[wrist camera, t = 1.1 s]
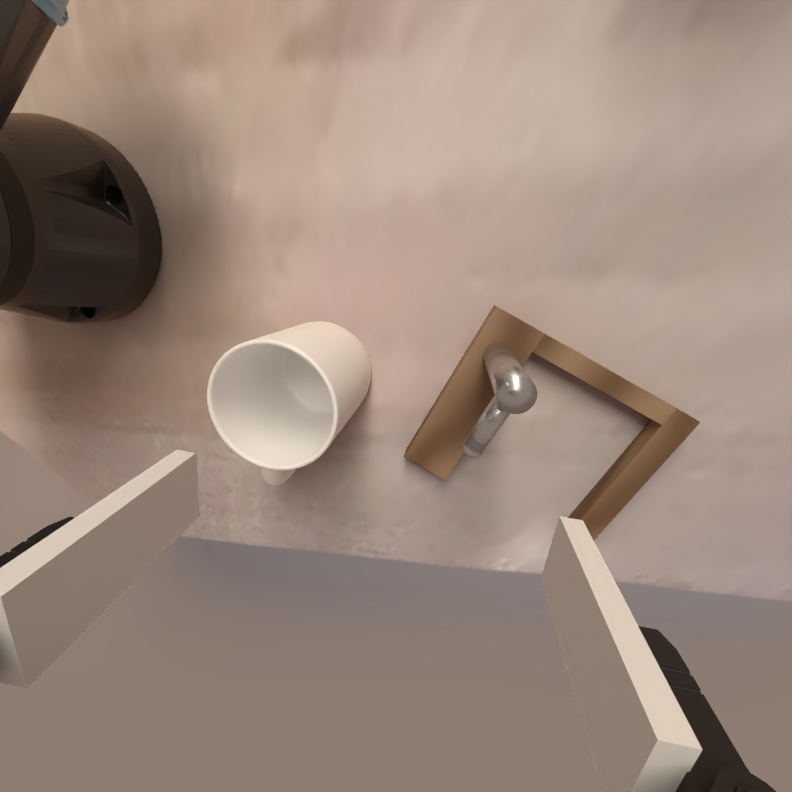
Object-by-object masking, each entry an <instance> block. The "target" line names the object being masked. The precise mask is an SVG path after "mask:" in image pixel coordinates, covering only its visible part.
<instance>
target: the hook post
mask: <svg viewBox="0 0 792 792" xmlns="http://www.w3.org/2000/svg"><path fill="white" fill-rule="evenodd" d="M484 362H485V365H486V368H487V371H488V375H489V378H490V381H491V384H492V387H493V391H494V394H495V396H494V397H493V399H492V400H491V402H490V403H489V405H488V406H487V408H486V409H485V411H484V412H483V414H482V415H481V417H480V418H479V420H478V421H477V423H476V424H475V426H474V427H473V429H472V430H471V432H470V433H469V435H468V436H467V438H466V439H465V441H464V442H463V446H462V448H463V452H464V453H465V455H466V456H468V457H470V458H477V457H479V456H480V455H481V454H482V453H483V452H484V450H485V449H486V447H487V446H488V444H489V443H490V442H491V440H492V439H493V437H494V436H495V434H496V433H497V431H498V430H499V429H500V427H501V426H502V424H503V423H504V421H505V420H506V419H507V417H508V416H509V414H510V413H512V414H520V413H523V412H526V411H528V410H529V409H530V408H531V407H532V406H533V405H534V403H535V401H536V399H537V390H536V387H535V385H534V383H533V382H532V381H531V379H530V378H529V376H528V375H527V373H526V372H525V371H524V369H523V368H522V366H521V365H520V363H519V362H518V361H517V359H516V358H515V356H514V355H513V353H512V352H511V351H510V349H509V348H508V347H507V346H506V345H505V344H502V343H494V344H491V345H489V346H488V347H487V348H486V350H485V352H484Z"/></svg>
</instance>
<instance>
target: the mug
mask: <svg viewBox="0 0 792 792" xmlns="http://www.w3.org/2000/svg"><path fill="white" fill-rule="evenodd" d="M370 381H371V366H370V361H369V358H368V355H367V353H366V351H365V349H364V347H363V345H362V344H361V343H360V341H359V340H358V339H357V338H356V337H355V336H354V335H353V334H352V333H350V332H349V331H348V330H346V329H344V328H343V327H341V326H338V325H336V324H332V323H328V322H309V323H304V324H301V325H298V326H295V327H291V328H288V329H285V330H282V331H279V332H275V333H272V334H269V335H266V336H263V337H259V338H256V339H253V340H250V341H247V342H243V343H241V344H239V345H237V346H234V347H233V348H231V349H230V350H228V351H227V352H226V353H225V354H224V355H223V356H222V357H221V358H220V359H219V361H218V362H217V363H216V365H215V367H214V368H213V370H212V373H211V375H210V378H209V382H208V387H207V404H208V410H209V414H210V417H211V420H212V422H213V425H214V427H215V429H216V430H217V432H218V434H219V435H220V437H221V438H222V440H223V441H224V442H225V443H226V444H227V445H228V447H229V448H230V449H231V450H233V451H234V452H235V453H236V454H237V455H239V456H240V457H242V458H243V459H245V460H246V461H248V462H250V463H252V464H254V465H257V466H259V467H260V471H261V475H262V478H263V479H264V481H265V482H266V483H268V484H269V485H271V486H278V485H281V484H283V483H284V482H285V481H287V480H288V479H289V478H290V477H291V476H292V474H293V473H294V472H295V470H296V469H297V468H300V467H303V466H306V465H308V464H310V463H312V462H314V461H315V460H316V459H318V458H319V457H320V456H321V455H322V454H323V453H324V452H325V451H326V450H327V448H328V447H329V446H330V444H331V443H332V442H333V440H334V439H335V438H336V436H337V435H338V434H339V432H340V431H341V430H342V428H343V427H344V426H345V424H346V423H347V422H348V420H349V419H350V418H351V416H352V415H353V414H354V412H355V411H356V410H357V408H358V407H359V406H360V404H361V403H362V402H363V400H364V398H365V396H366V394H367V392H368V389H369V386H370Z"/></svg>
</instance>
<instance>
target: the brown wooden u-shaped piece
mask: <svg viewBox="0 0 792 792" xmlns="http://www.w3.org/2000/svg"><path fill="white" fill-rule="evenodd" d="M494 343H502V344H505V345H506V346H507V347H508V348H509V349H510V351H511V352H512V353H513V355H514V356H515V358H516V359H517V361H518V362H519V363H520V365H521V366H522V367H523V365H524V364H525V362H526V361H527V359H528V358H529V356H530V355H531V353H532V352H533V353H535V354H537V355H538V356H540V357H542V358H544V359H546V360H547V361H549V362H551V363H553V364H554V365H556V366H558V367H560V368H561V369H563V370H565V371H567V372H569V373H570V374H572V375H574V376H576V377H577V378H579V379H581V380H583V381H585V382H586V383H588V384H590V385H592V386H593V387H595V388H597V389H599V390H600V391H602V392H604V393H606V394H608V395H609V396H611V397H613V398H615V399H616V400H618V401H620V402H622V403H623V404H625V405H627V406H629V407H631V408H632V409H634V410H636V411H638V412H639V413H641V414H643V415H645V416H646V417H648V418H650V419H651V421H650V422H649V423H648V424H647V425H646V426H645V428H644V429H643V430H642V431H641V432H640V434H639V435H638V436H637V437H636V438H635V439H634V441H633V442H632V443H631V444H630V445H629V447H628V448H627V449H626V450H625V451H624V452H623V454H622V455H621V456H620V457H619V458H618V459H617V461H616V462H615V463H614V464H613V465H612V467H611V468H610V469H609V470H608V471H607V472H606V474H605V475H604V476H603V477H602V478H601V480H600V481H599V482H598V483H597V484H596V485H595V487H594V488H593V489H592V490H591V491H590V493H589V494H588V495H587V496H586V497H585V498H584V500H583V501H582V502H581V503H580V504H579V505H578V507H577V508H576V509H575V510H574V511H573V513H572V514H571V515H570V516H569V517H568V518H572V519H578V520H583V521H584V523H585V525H586V527H587V529H588V531H589V533H590V535H591V537H592V539H593V541H594V540H595V538H596V537H597V536H598V535H599V534H600V533H601V532H602V531H603V530H604V528H605V527H606V526H607V525H608V524H609V523H610V522H611V521H612V520H613V518H614V517H615V516H616V515H617V514H618V513H619V512H620V511H621V510H622V508H623V507H624V506H625V505H626V504H627V503H628V502H629V501H630V500H631V498H632V497H633V496H634V495H635V494H636V493H637V492H638V491H639V490H640V489H641V487H642V486H643V485H644V484H645V483H646V482H647V481H648V480H649V479H650V477H651V476H652V475H653V474H654V473H655V472H656V471H657V470H658V469H659V467H660V466H661V465H662V464H663V463H664V462H665V461H666V460H667V459H668V457H669V456H670V455H671V454H672V453H673V452H674V451H675V450H676V449H677V447H678V446H679V445H680V444H681V443H682V442H683V441H684V440H685V439H686V437H687V436H688V435H689V434H690V433H691V432H692V431H693V430H694V429H695V428H696V426H697V425H698V424H699V423H700V422H699V421H697V420H696V419H694V418H692V417H691V416H689V415H687V414H686V413H684V412H682V411H680V410H678V409H677V408H675V407H673V406H671V405H670V404H668V403H666V402H664V401H663V400H661V399H659V398H657V397H656V396H654V395H652V394H650V393H648V392H647V391H645V390H643V389H641V388H640V387H638V386H636V385H634V384H633V383H631V382H629V381H627V380H625V379H624V378H622V377H620V376H618V375H617V374H615V373H613V372H611V371H610V370H608V369H606V368H604V367H602V366H601V365H599V364H597V363H595V362H594V361H592V360H590V359H588V358H587V357H585V356H583V355H581V354H580V353H578V352H576V351H574V350H572V349H571V348H569V347H567V346H565V345H564V344H562V343H560V342H558V341H557V340H555V339H553V338H551V337H549V336H548V335H546V334H544V333H542V332H541V331H539V330H537V329H535V328H534V327H532V326H530V325H528V324H526V323H525V322H523V321H521V320H519V319H518V318H516V317H514V316H512V315H511V314H509V313H507V312H505V311H504V310H502V309H500V308H498V307H496V306H495V305H494V306H493V308H492V310H491V311H490V313H489V315H488V316H487V318H486V320H485V321H484V323H483V325H482V326H481V328H480V329H479V331H478V333H477V334H476V336H475V338H474V339H473V341H472V343H471V344H470V346H469V347H468V349H467V351H466V352H465V354H464V356H463V357H462V359H461V361H460V362H459V364H458V365H457V367H456V369H455V370H454V372H453V374H452V375H451V377H450V379H449V380H448V382H447V384H446V385H445V387H444V388H443V390H442V392H441V393H440V395H439V397H438V398H437V400H436V402H435V403H434V405H433V406H432V408H431V410H430V411H429V413H428V415H427V416H426V418H425V420H424V421H423V423H422V424H421V426H420V428H419V429H418V431H417V433H416V434H415V436H414V438H413V439H412V441H411V443H410V444H409V446H408V447H407V449H406V452H405V455H404V457H405V458H407V459H408V460H410V461H412V462H414V463H416V464H417V465H419V466H421V467H423V468H425V469H426V470H428V471H430V472H432V473H434V474H435V475H437V476H439V477H441V478H443V479H444V480H446V479H447V478H448V476H449V475H450V473H451V472H452V470H453V469H454V467H455V466H456V464H457V463H458V461H459V460H460V458H461V457H462V455H463V454H464V452H463V448H462V446H463V442H464V441H465V439H466V438H467V436H468V435H469V433H470V432H471V430H472V429H473V427H474V426H475V424H476V423H477V421H478V420H479V418H480V417H481V415H482V414H483V412H484V411H485V409H486V408H487V406H488V405H489V403H490V402H491V400H492V399H493V397H494V396H495V394H494V391H493V387H492V384H491V381H490V378H489V375H488V371H487V368H486V365H485V362H484V352H485V350H486V348H487V347H488V346H489V345H491V344H494Z"/></svg>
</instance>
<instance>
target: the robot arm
mask: <svg viewBox="0 0 792 792" xmlns="http://www.w3.org/2000/svg"><path fill="white" fill-rule="evenodd" d="M68 1H69V0H0V309H2V310H7V311H12V312H17V313H22V314H26V315H31V316H36V317H41V318H46V319H51V320H56V321H61V322H67V323H91V322H99V321H107V320H112V319H116V318H119V317H122V316H124V315H126V314H128V313H129V312H131V311H132V310H134V309H135V308H136V307H137V306H138V305H139V304H140V303H141V302H142V301H143V300H144V299H145V297H146V296H147V295H148V293H149V291H150V289H151V288H152V286H153V283H154V281H155V278H156V275H157V271H158V267H159V261H160V232H159V226H158V221H157V216H156V213H155V209H154V207H153V204H152V201H151V199H150V196H149V194H148V192H147V190H146V188H145V186H144V184H143V182H142V180H141V179H140V177H139V175H138V174H137V172H136V171H135V170H134V168H133V167H132V165H131V164H130V163H129V162H128V161H127V159H126V158H125V157H124V156H123V155H122V154H121V153H120V152H119V151H118V150H117V149H116V148H115V147H113V146H112V145H111V144H110V143H108V142H107V141H106V140H104V139H103V138H101V137H100V136H98V135H96V134H94V133H93V132H91V131H88V130H86V129H84V128H81V127H78V126H76V125H73V124H71V123H68V122H66V121H63V120H60V119H57V118H54V117H50V116H46V115H41V114H33V113H11V111H12V109H13V107H14V105H15V103H16V101H17V99H18V98H19V96H20V94H21V92H22V90H23V88H24V86H25V84H26V83H27V81H28V79H29V77H30V75H31V73H32V71H33V69H34V67H35V66H36V64H37V62H38V60H39V58H40V56H41V54H42V52H43V51H44V49H45V47H46V45H47V43H48V41H49V39H50V37H51V35H52V34H53V32H54V30H55V28H56V26H57V25H59V26H60V27H62V26H64V25H65V23H66V22H67V21H68V13H67V10H66V6H67V3H68ZM199 516H200V512H199V495H198V479H197V462H196V453H193V452H187V451H181V450H175V451H174V452H172V453H171V454H169V455H168V456H166V457H165V458H163V459H162V460H160V461H159V462H157V463H156V464H154V465H153V466H151V467H150V468H148V469H147V470H145V471H144V472H142V473H141V474H139V475H138V476H136V477H135V478H134V479H132V480H131V481H129V482H128V483H126V484H125V485H123V486H122V487H120V488H119V489H117V490H116V491H114V492H113V493H111V494H110V495H108V496H107V497H105V498H104V499H102V500H101V501H99V502H98V503H96V504H95V505H93V506H92V507H90V508H89V509H87V510H86V511H85V512H83V513H81V514H80V515H78V516H77V517H75V518H74V517H68V518H66V519H63V520H61V521H58V522H56V523H54V524H51V525H49V526H47V527H45V528H44V529H42V530H40V531H39V532H37V533H36V534H34V535H33V536H31V537H30V538H28V539H27V541H26V542H22V543H20V544H19V545H17V546H16V547H14V548H13V549H11V551H10V552H9V553H8V552H6V553H5V554H3V555H2V556H0V682H2V683H6V684H11V685H15V686H19V687H23V688H27V687H28V686H29V685H30V684H31V683H32V682H33V681H34V680H35V679H36V678H37V677H38V676H39V675H40V674H41V673H42V672H43V671H44V670H45V669H46V668H47V667H48V666H49V665H50V664H51V663H52V662H53V661H54V660H55V659H56V658H57V657H58V656H59V655H60V654H61V653H63V652H64V650H66V648H67V647H69V646H70V645H71V643H73V641H74V640H76V639H77V637H79V635H81V633H82V632H84V630H86V629H87V628H88V627H89V626H90V624H92V623H93V622H94V621H95V620H96V619H97V618H98V616H100V615H101V613H103V612H104V610H106V608H108V607H109V606H110V605H111V604H112V603H113V602H114V601H115V599H116V598H118V597H119V595H121V594H122V592H124V591H125V590H126V589H127V588H128V587H129V586H130V585H131V584H132V583H133V582H134V580H136V579H137V578H138V577H139V576H140V575H141V574H142V573H143V572H144V571H145V569H147V567H149V566H150V565H151V564H152V563H153V562H154V561H155V560H156V559H157V558H158V557H159V556H160V555H161V554H162V553H163V552H164V551H165V550H166V549H167V548H168V547H169V546H170V545H171V544H172V543H173V542H174V541H175V540H176V539H177V538H178V537H179V536H180V535H181V534H182V533H183V532H184V531H185V530H186V529H187V528H188V527H189V526H190V525H191V524H192V523H193V522H194V521H195V520H196V519H197V518H198V517H199ZM541 583H542V586H543V590H544V593H545V597H546V601H547V604H548V607H549V611H550V615H551V618H552V621H553V625H554V628H555V632H556V635H557V639H558V642H559V646H560V649H561V653H562V656H563V660H564V663H565V667H566V670H567V673H568V677H569V681H570V684H571V687H572V691H573V694H574V698H575V701H576V705H577V708H578V712H579V715H580V719H581V722H582V726H583V729H584V732H585V736H586V740H587V743H588V746H589V750H590V753H591V757H592V760H593V764H594V767H595V771H596V774H597V778H598V781H599V785H600V788H601V791H602V792H776V791H775V790H774V789H773V788H771V787H770V786H769V785H768V784H767V783H765V782H764V781H762V780H761V779H759V778H757V777H756V776H754V775H753V774H751V773H750V772H749V770H748V769H747V768H746V766H745V764H744V762H743V761H742V759H741V757H740V756H739V754H738V752H737V751H736V749H735V747H734V746H733V744H732V742H731V740H730V739H729V737H728V736H727V734H726V732H725V730H724V729H723V727H722V725H721V724H720V722H719V720H718V719H717V717H716V715H715V713H714V712H713V710H712V708H711V707H710V705H709V703H708V702H707V700H706V698H705V697H704V695H702V694H701V692H700V688H699V686H698V685H697V683H696V681H695V680H694V678H693V676H690V672H689V670H688V668H687V666H686V664H685V663H684V661H683V660H682V658H681V656H680V654H679V653H678V651H677V649H675V647H674V646H673V645H672V644H671V643H670V642H669V641H668V640H667V639H666V638H665V637H664V636H663V635H662V634H661V633H660V632H659V631H658V630H656V629H651V628H645V627H640V626H638V625H637V623H636V621H635V619H634V617H633V615H632V614H631V612H630V610H629V608H628V606H627V604H626V602H625V600H624V598H623V596H622V594H621V592H620V590H619V589H618V587H617V585H616V583H615V581H614V579H613V577H612V575H611V573H610V571H609V569H608V567H607V566H606V564H605V562H604V560H603V558H602V556H601V554H600V552H599V550H598V548H597V546H596V544H595V543H594V541H593V539H592V537H591V535H590V533H589V531H588V529H587V527H586V525H585V523H584V521H583V520H578V519H572V518H566V517H561V516H560V517H559V521H558V524H557V527H556V530H555V534H554V537H553V540H552V544H551V547H550V550H549V554H548V557H547V560H546V564H545V567H544V570H543V573H542V577H541Z"/></svg>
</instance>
